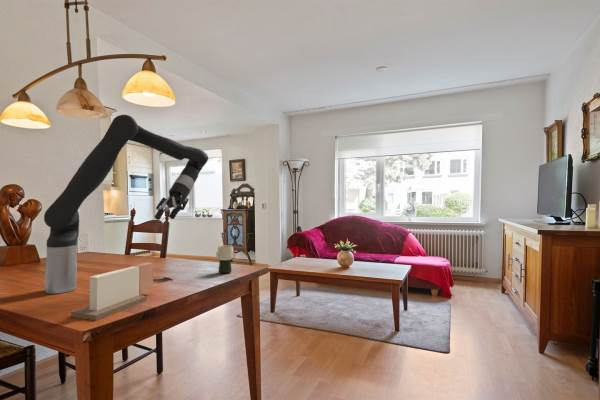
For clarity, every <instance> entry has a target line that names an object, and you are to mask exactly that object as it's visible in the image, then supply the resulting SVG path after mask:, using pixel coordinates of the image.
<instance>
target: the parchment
mask: <svg viewBox="0 0 600 400" xmlns="http://www.w3.org/2000/svg"><path fill="white" fill-rule="evenodd" d="M173 280H174V279H173V278H170V277H162V278H155V279H154V278H153V287H154V286H156V285H158V284H162V283H165V282H169V281H173Z"/></svg>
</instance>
